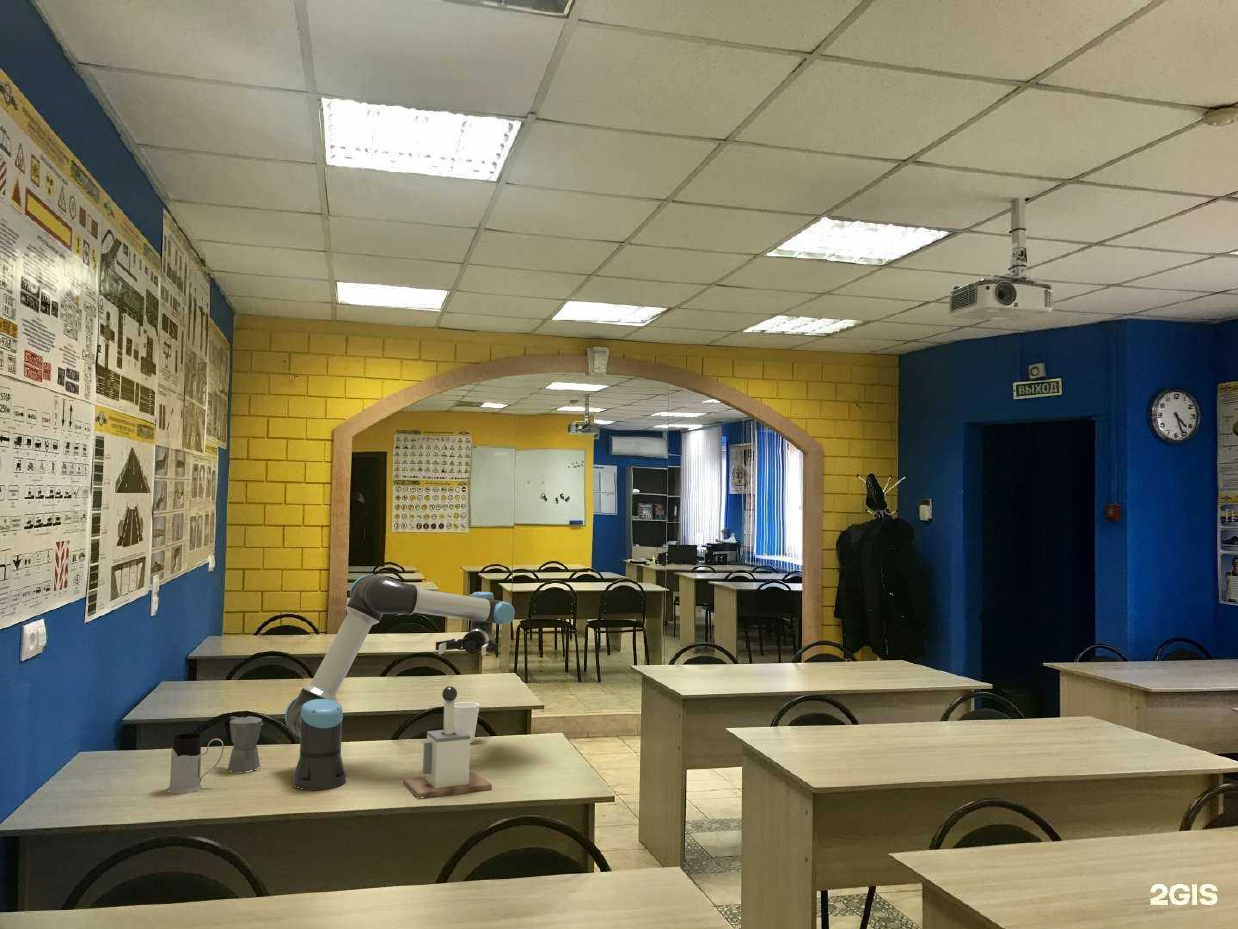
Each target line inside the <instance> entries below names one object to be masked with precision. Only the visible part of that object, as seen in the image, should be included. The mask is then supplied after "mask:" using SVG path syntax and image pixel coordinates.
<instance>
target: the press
mask: <svg viewBox="0 0 1238 929" xmlns="http://www.w3.org/2000/svg"><path fill="white" fill-rule="evenodd" d="M443 730H444V729H439V730H429V731H426V741H424V742H423V760H422V765H423V766H422V774H423V775H425V776H426V780H427V781H428V782H429V783H430V784H431V785H433V786H434V787H435V788H442V787H450V786H458V785H466V784H469V771H470V762H471V761H470V758H471V756H470V755H471V751H470V750H471V744H470V735H469V734H467V733H466V732H464V731H463V730H461V729H460V728H458V729H454V735H446V736H444V735H443Z"/></svg>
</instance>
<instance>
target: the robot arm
mask: <svg viewBox="0 0 1238 929" xmlns="http://www.w3.org/2000/svg"><path fill="white" fill-rule="evenodd" d="M349 596H350V599H349V600H348V602H347V603H346V606H345V608H346V612H347V613H346V616H345V618H344V619H343V622H342V624H341V625H340V627H339V629H338V631H337V633H336V634H335V637H334V639H333V641H331V642H332V643H331V644H330V646H329V648H328V650H327V652H326V654H325V656H324V658H323V659H322V661H321V663H320V665H319V667H318V669H317V671H316V673H314V674H315V675H314V677H313V678H312V679H311V682H310V683H309V684H307V685H305V686H303V687H302V688H301V690H300V692H299V694H298V696H297V697H295V698H293V699H292V700H291V701H290V702H289V703H288V705H287V707H286V710H285V714H284V720H285V724H286V725H287V727H288V729H289V730H290V732H291V733H292V734H293V735H295V736H297V737H299V738H300V743H299V745H300V746H299V758H298V761H297V763H296V767H295V770H294V772H293V774H292V775H293V776H292V783H293V785H294V786H296V787H299V788H303V789H302V790H305V789H312V790H311V791H318V790H319V789H321V790H328V788H329V789H333V787H334V788H337V787H340V786H342V785H344V784H345V783H346V782H347V773H346V771H347V770H346V769H345V765H344V762H343V758H342V735H343V734H342V733H343V719H344V715H343V706H342V705H341V704H340V703H339V702H338V700H337V694H338V692H339V690H340V688H341V685H342V684H343V682H344V680H345V678H346V676H347V675H348V672H349V670H350V669H351V667H352V665H353V663H354V661H355V658H356V657H357V655H358V653H359V652H360V649H361V648H362V646H363V644H364V641H365V640H366V638H367V636H368V634H369V632H370V630H371V628H372V627H373V626H374V625H376V624H379V623H380V622H381V619H382V618H383V615H404V616H405V615H406V616H411V615H413V614H414V613H415V614H424V615H431V616H439V617H445V618H454V619H459V620H462V619H463V620H469V621H470V631H468V632H467V633H466V634H464V636H463V637H462V638H459V639H457V640H456V639H455V638H451V639H446V640H441V641H435V651H438V655H442V654H443V653H445V652H447V651H451V650H452V651H453V650H458V651H465V652H466V653H468V654H471V655H477V654H479V653H481V656H486V655H487V654H488V653H492V652H494V653H498V652H499V644H498V642H497V643H496V642H495V641H494V639H495V632H494V630H493V624H496V625H499V626H501V625H502V626H503V625H505V626H506V625H509V624H510V623H511V622H512V621H513V620H514V618H515V614H516V612H515V608H514V606H513V605H512V603H510V602H507V601H502V600H496V599H495V597H494V593H493V592H491V591H490V592H489V591H475V592H473V593H472V595H471V596H469V595H463V594H454V593H450V592H449V593H448V592H442V591H436V590H431V589H430V590H429V589H423V588H418V586H417V585H416V584H413V583H412V584H411V583H406V582H402V581H400V580H396V579H394V578H391V577H388V576H382V575H378V574H373V573H372V574H366V575H362V576H360V577H359V578H357V579H356V580H355V581H354V582H353V584H352V585H351V588H350V590H349ZM293 785H292V786H293ZM294 786H293V787H294ZM296 787H295V788H296ZM299 788H298V789H299ZM313 789H315V790H313ZM317 789H318V790H317Z"/></svg>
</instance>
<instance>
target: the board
mask: <svg viewBox="0 0 1238 929" xmlns="http://www.w3.org/2000/svg"><path fill="white" fill-rule="evenodd" d="M402 785H403V786H404V785H405V786H406V787H407V788H408V789H409V790H408V789H407V788H406V787H405V786H404V787H405V788H406V789H407V790H408V791H411V792H412V793H413V794H414V795H415V796H416V797H417V798H421V797H430V798H435V797H434V796H438V797H444V796H445V795H446V796H452V795H453V794H454V795H459V794H460V793H461V794H467V793H468V794H469V793H475V792H474V791H477V792H484V791H491V790H492V788H493V785H492V783H491V782H489V781H488V780H487V779H485V777H483V776H481V775H480V774H479V773H477V771H475V770H469V784H466V785H458V786H450V787H442V788H435V787H434V786H433V785H431V784H430V783H429V782H428V781H427V780H426V775H425V776H417V777H407V778H402ZM411 792H410V793H411ZM412 793H411V794H412ZM413 794H412V795H413ZM414 795H413V796H414ZM415 796H414V797H415ZM416 797H415V798H416ZM417 798H416V799H417Z"/></svg>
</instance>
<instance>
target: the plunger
mask: <svg viewBox="0 0 1238 929" xmlns="http://www.w3.org/2000/svg"><path fill="white" fill-rule="evenodd" d="M441 693H442V694H441V696H442V698H443V700H444V701H443V704H444V705H443V729H442V730H443V735H444V736H446V735H454V705H455V703H456V702H455V701H456V698H457V697H458V690H457V689H456V688H455V687H454V686H446V687H445V688H444V689H443V690H442V692H441Z"/></svg>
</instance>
